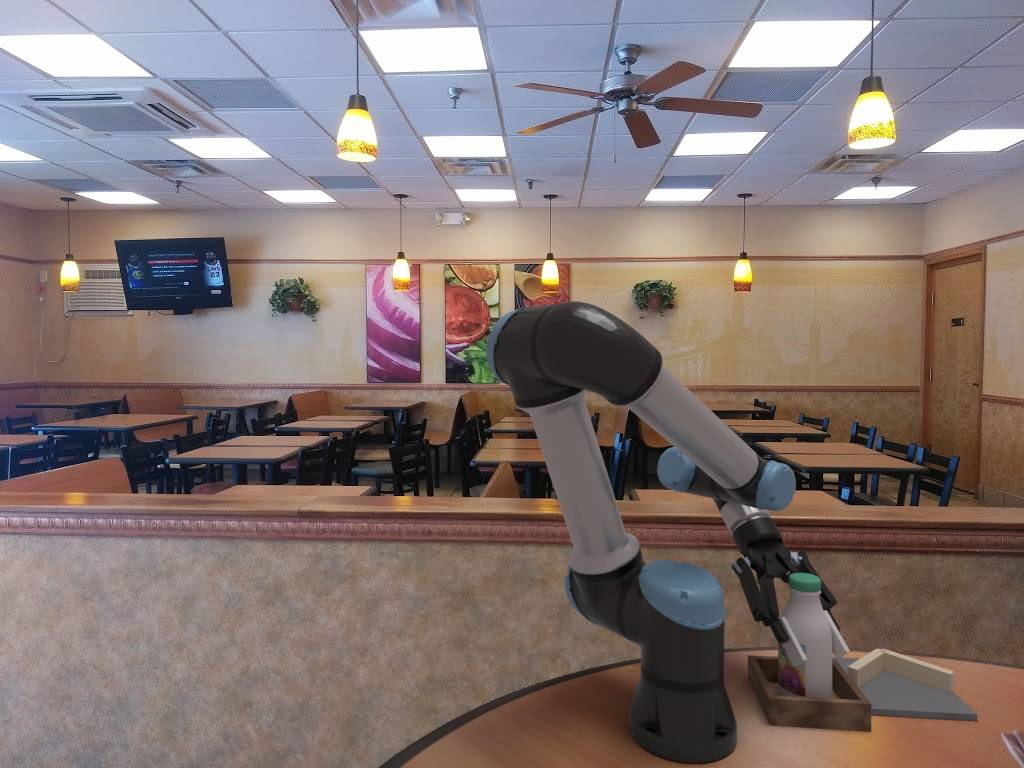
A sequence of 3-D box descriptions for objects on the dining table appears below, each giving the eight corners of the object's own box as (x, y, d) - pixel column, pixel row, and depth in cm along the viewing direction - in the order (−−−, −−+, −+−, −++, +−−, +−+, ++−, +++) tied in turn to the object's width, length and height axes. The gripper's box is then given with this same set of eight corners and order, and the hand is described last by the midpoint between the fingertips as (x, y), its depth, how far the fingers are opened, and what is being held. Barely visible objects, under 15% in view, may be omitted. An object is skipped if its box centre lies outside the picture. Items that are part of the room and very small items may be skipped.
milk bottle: (821, 691, 104) (821, 569, 103) (840, 717, 96) (841, 585, 95) (771, 689, 105) (771, 568, 104) (787, 715, 97) (787, 584, 96)
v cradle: (866, 714, 97) (866, 688, 97) (826, 662, 114) (826, 640, 114) (980, 721, 95) (980, 694, 95) (922, 666, 112) (922, 644, 112)
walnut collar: (769, 725, 94) (769, 698, 94) (747, 678, 108) (747, 655, 108) (871, 731, 93) (871, 704, 92) (835, 683, 106) (835, 659, 106)
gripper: (788, 532, 117) (860, 658, 102) (692, 543, 111) (754, 678, 96) (809, 510, 112) (889, 639, 97) (710, 520, 106) (779, 659, 91)
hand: (821, 658), depth 97 cm, fingers closed on milk bottle, 7 cm apart
